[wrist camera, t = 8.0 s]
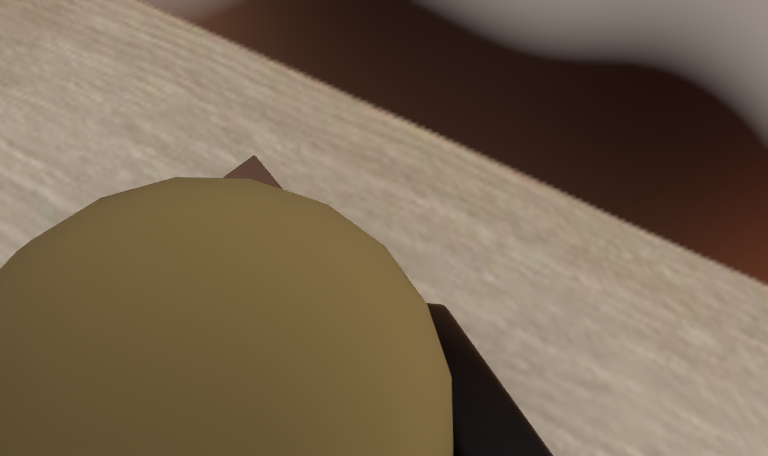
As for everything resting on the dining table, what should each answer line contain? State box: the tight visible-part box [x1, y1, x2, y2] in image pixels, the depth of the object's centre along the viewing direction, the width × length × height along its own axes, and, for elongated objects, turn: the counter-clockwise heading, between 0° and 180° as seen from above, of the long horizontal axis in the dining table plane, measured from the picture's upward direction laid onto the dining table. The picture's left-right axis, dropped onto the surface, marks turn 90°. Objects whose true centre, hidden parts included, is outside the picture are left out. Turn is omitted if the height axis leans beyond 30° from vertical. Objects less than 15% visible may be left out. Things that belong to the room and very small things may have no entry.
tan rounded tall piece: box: [0, 177, 453, 456], centre depth 9 cm, size 6×6×11 cm
